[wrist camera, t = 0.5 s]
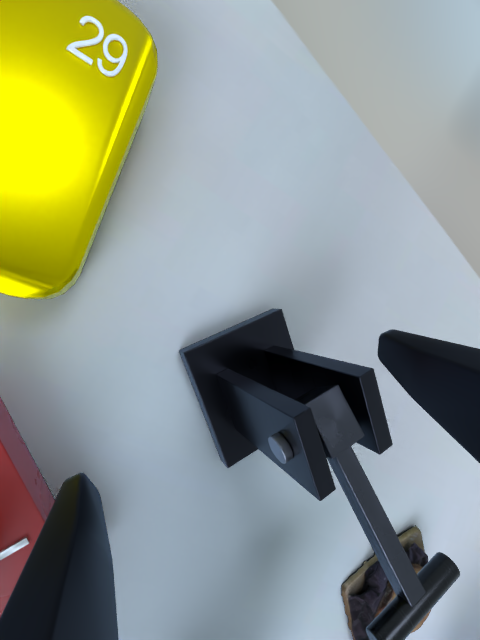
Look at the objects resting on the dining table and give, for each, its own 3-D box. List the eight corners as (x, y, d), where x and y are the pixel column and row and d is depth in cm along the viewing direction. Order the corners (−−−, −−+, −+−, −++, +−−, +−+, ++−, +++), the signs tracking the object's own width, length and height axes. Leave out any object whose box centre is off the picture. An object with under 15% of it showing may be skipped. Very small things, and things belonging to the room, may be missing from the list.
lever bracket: (304, 409, 27) (420, 466, 18) (221, 461, 24) (308, 563, 15) (273, 308, 25) (384, 312, 16) (178, 350, 22) (247, 386, 13)
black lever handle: (434, 565, 18) (476, 586, 16) (364, 640, 16) (402, 676, 14) (335, 375, 19) (361, 370, 17) (258, 420, 17) (277, 421, 15)
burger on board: (412, 517, 34) (448, 540, 31) (424, 583, 35) (459, 612, 32) (337, 579, 30) (369, 614, 26) (354, 652, 31) (386, 694, 28)
